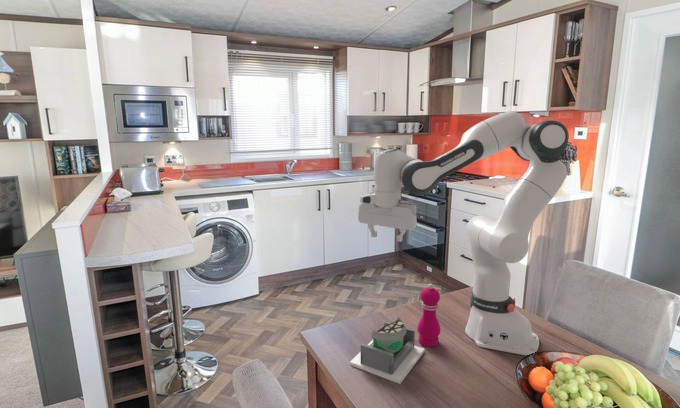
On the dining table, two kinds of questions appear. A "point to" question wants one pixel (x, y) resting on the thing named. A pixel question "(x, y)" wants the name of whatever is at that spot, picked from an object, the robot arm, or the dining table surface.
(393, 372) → the slot stand
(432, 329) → the pepper mill
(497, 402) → the dining table surface
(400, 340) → the food container
